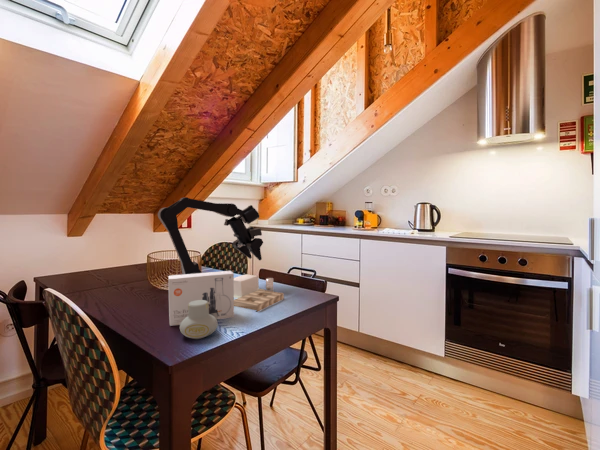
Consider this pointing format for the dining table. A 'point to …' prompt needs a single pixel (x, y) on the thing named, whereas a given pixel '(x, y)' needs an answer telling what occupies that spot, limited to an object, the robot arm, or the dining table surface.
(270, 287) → the pin
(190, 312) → the air freshener
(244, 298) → the hole board
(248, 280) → the white rectangular block
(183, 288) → the skincare box
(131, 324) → the dining table surface
